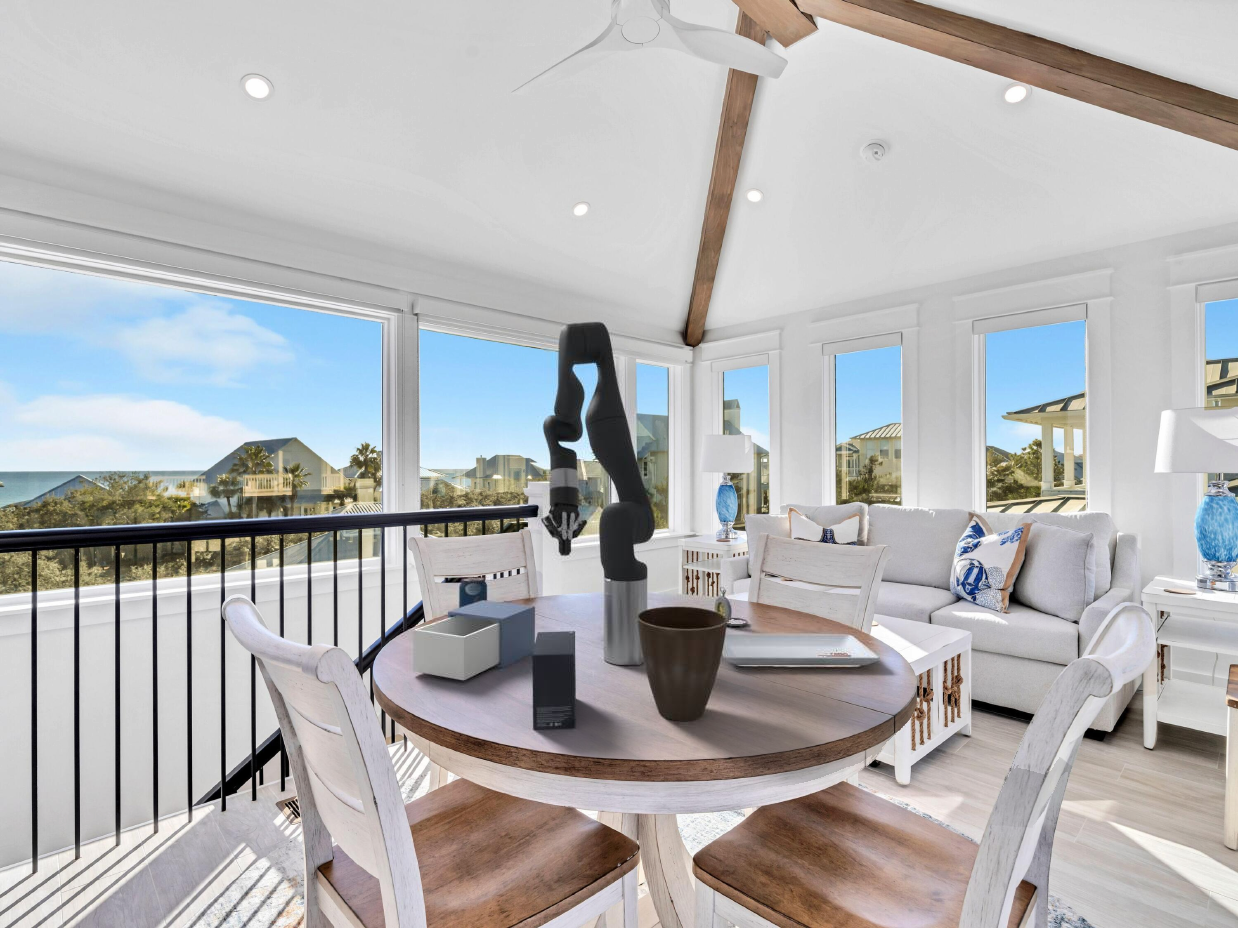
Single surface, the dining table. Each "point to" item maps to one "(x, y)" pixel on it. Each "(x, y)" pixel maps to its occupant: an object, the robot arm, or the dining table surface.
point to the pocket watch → (726, 609)
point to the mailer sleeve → (506, 627)
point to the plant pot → (681, 657)
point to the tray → (795, 649)
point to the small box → (554, 681)
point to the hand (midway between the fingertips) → (565, 555)
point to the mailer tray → (456, 647)
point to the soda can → (472, 591)
